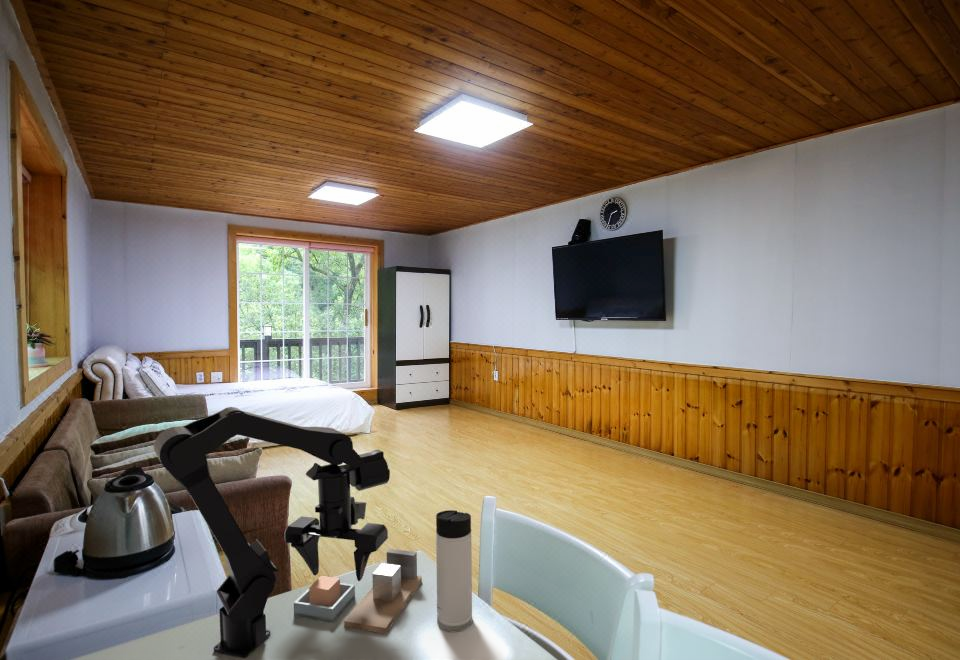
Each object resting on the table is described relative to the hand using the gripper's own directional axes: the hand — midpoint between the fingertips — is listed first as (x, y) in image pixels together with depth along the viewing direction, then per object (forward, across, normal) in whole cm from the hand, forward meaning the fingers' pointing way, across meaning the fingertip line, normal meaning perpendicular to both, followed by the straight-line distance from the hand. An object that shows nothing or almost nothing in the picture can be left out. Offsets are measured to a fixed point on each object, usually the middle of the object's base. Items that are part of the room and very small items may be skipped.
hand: (337, 577), depth 97 cm
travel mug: (+6, -23, 0) cm, 24 cm away
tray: (+5, +2, +1) cm, 6 cm away
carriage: (+4, -8, -3) cm, 10 cm away
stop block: (+5, +2, +1) cm, 5 cm away
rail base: (+5, -8, -3) cm, 10 cm away
